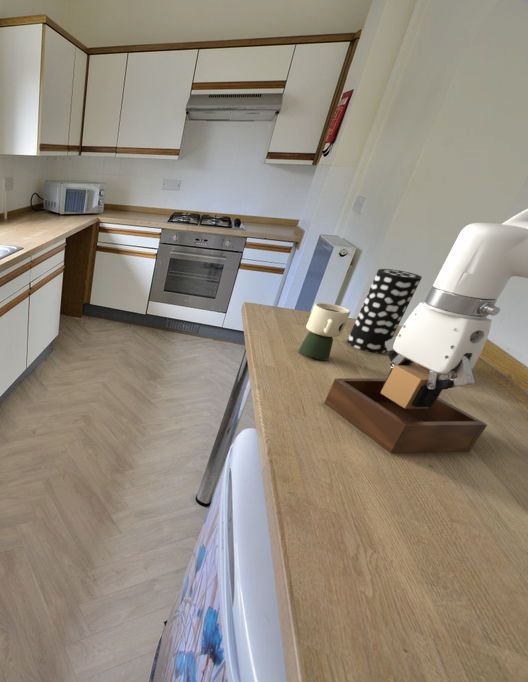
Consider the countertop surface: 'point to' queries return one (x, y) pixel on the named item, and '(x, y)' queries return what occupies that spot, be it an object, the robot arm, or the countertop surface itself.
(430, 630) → the countertop surface
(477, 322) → the robot arm
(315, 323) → the character mug
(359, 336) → the white-spotted black cylinder
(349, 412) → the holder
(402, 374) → the box
